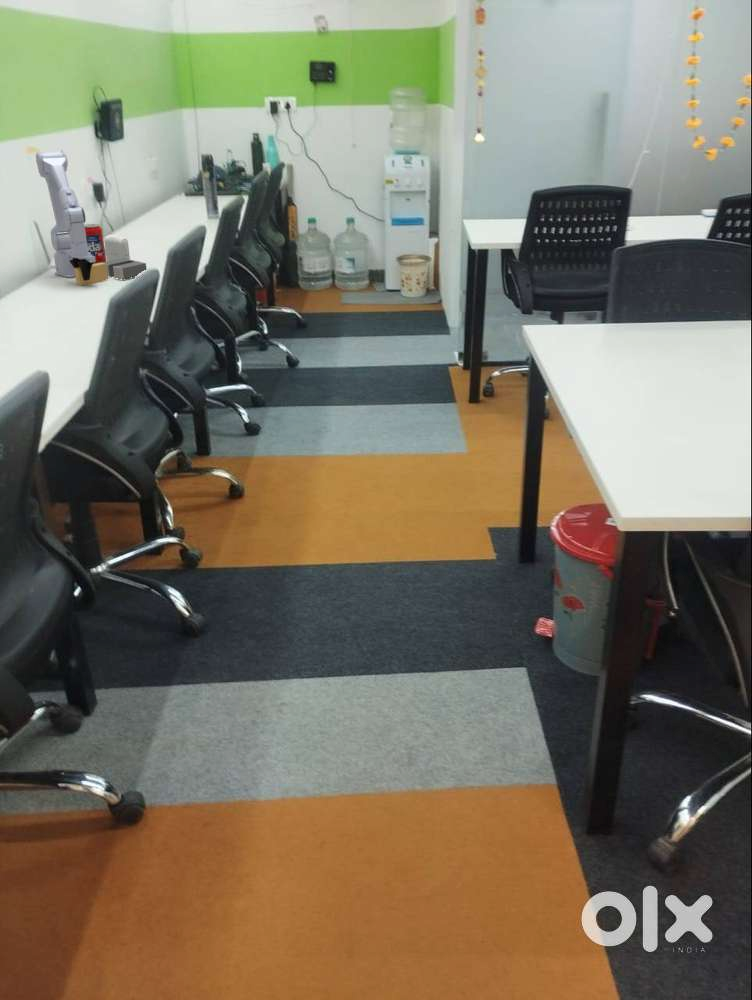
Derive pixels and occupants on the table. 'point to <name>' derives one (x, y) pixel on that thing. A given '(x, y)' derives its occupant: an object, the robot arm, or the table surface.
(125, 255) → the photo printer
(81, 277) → the tan rectangular block
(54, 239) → the robot arm
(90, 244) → the soda can
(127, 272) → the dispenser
